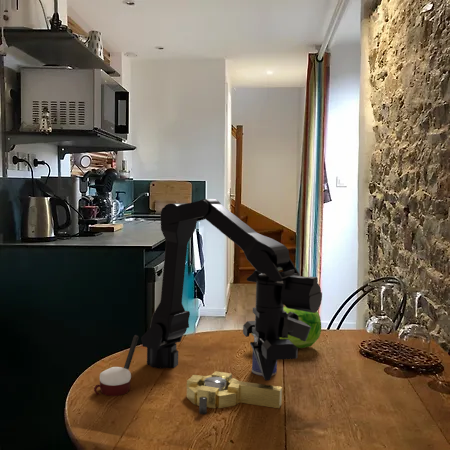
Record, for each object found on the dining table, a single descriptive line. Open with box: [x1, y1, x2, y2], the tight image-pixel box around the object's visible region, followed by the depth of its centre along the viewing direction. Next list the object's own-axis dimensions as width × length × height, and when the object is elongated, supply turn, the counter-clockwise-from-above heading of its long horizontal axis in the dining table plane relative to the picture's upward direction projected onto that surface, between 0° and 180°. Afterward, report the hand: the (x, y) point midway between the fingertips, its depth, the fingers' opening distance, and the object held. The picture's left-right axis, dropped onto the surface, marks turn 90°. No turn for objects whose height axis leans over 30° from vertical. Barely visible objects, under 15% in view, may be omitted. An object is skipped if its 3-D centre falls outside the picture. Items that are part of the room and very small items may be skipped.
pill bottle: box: [251, 350, 278, 377], centre depth 122 cm, size 6×6×10 cm
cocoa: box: [93, 334, 139, 397], centre depth 109 cm, size 10×6×12 cm, turn 106°
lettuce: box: [249, 306, 322, 349], centre depth 145 cm, size 14×20×12 cm
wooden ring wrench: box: [186, 371, 283, 409], centre depth 106 cm, size 19×11×4 cm, turn 73°
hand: (267, 379), depth 109 cm, fingers closed
